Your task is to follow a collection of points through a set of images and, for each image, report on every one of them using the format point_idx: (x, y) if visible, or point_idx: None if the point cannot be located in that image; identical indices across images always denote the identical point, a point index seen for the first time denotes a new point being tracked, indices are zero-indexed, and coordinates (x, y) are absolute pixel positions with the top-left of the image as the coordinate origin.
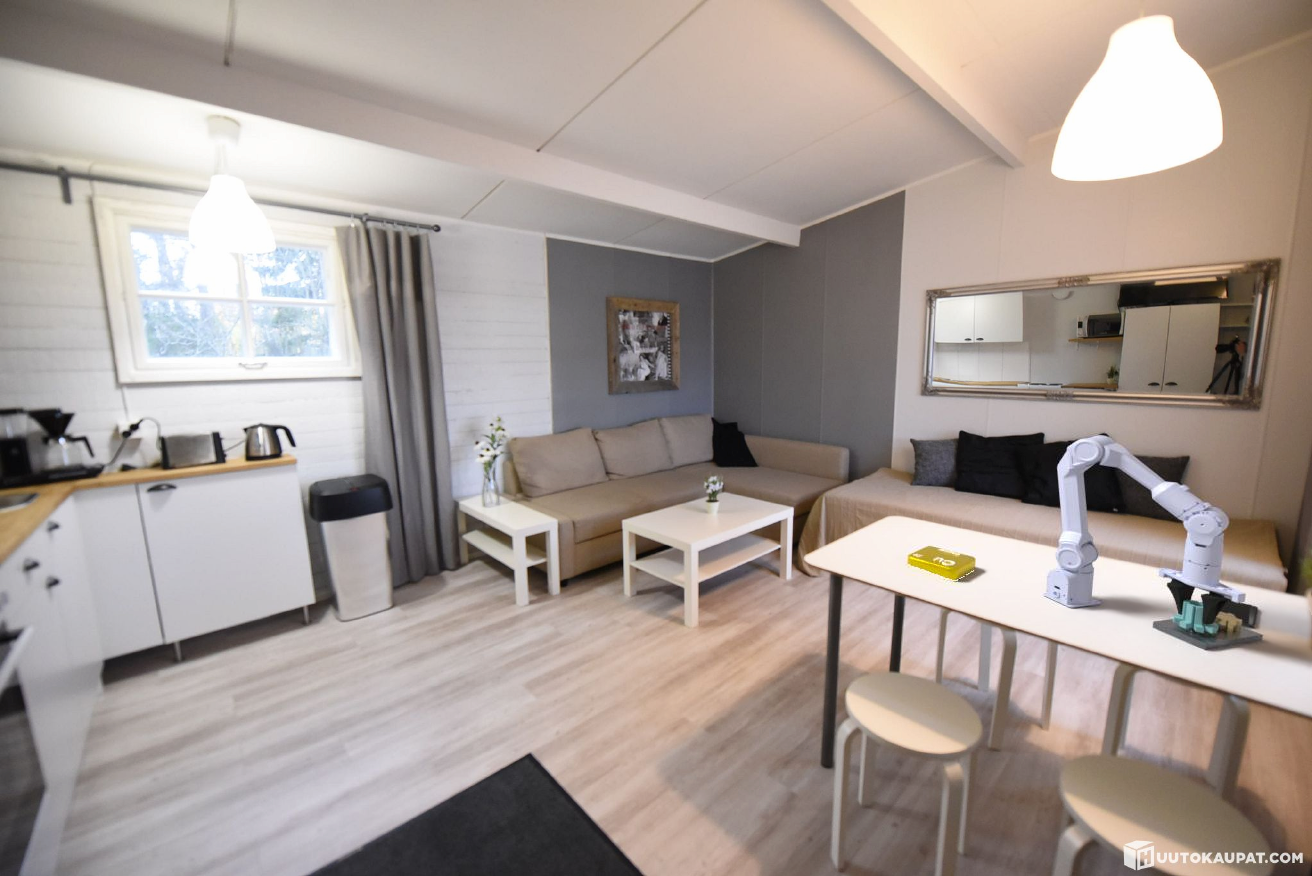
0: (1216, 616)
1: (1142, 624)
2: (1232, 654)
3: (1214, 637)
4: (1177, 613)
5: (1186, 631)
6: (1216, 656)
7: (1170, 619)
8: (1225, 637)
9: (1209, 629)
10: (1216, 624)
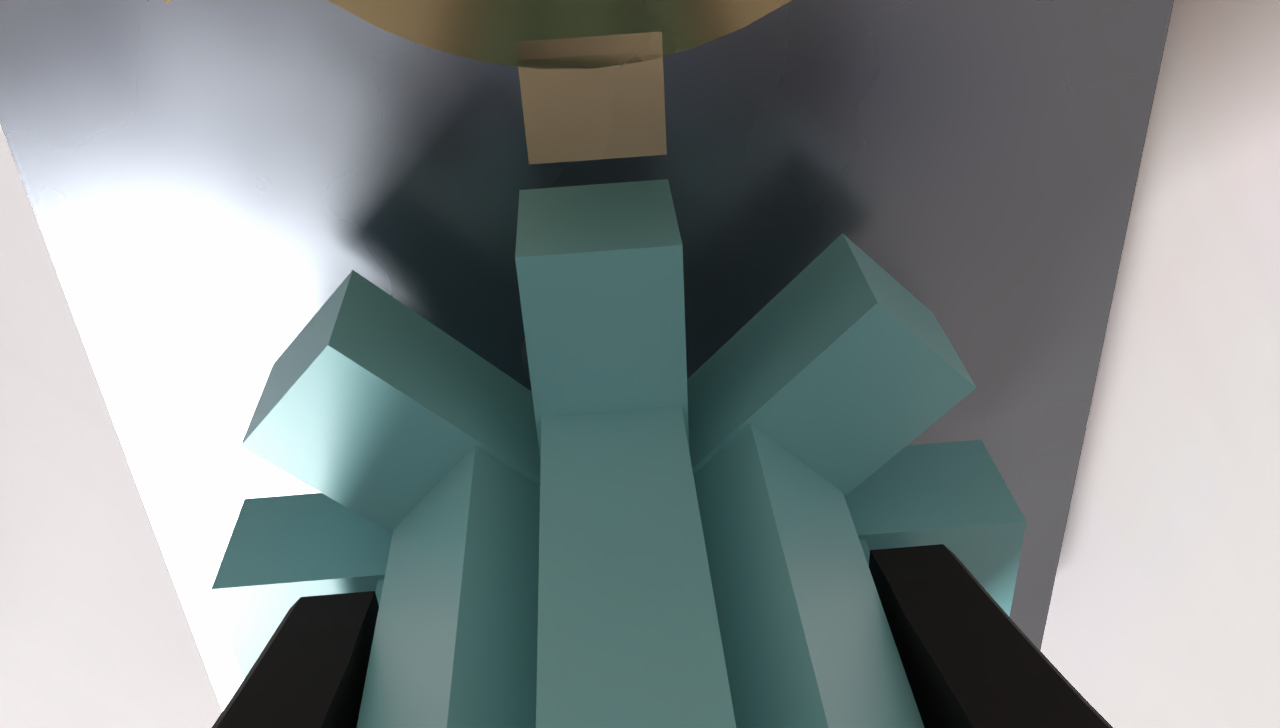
0: (1067, 691)
1: (159, 718)
2: (1218, 403)
3: (953, 423)
4: (229, 632)
5: None
6: (1140, 635)
7: (149, 474)
8: (1030, 222)
9: None
10: (910, 363)
